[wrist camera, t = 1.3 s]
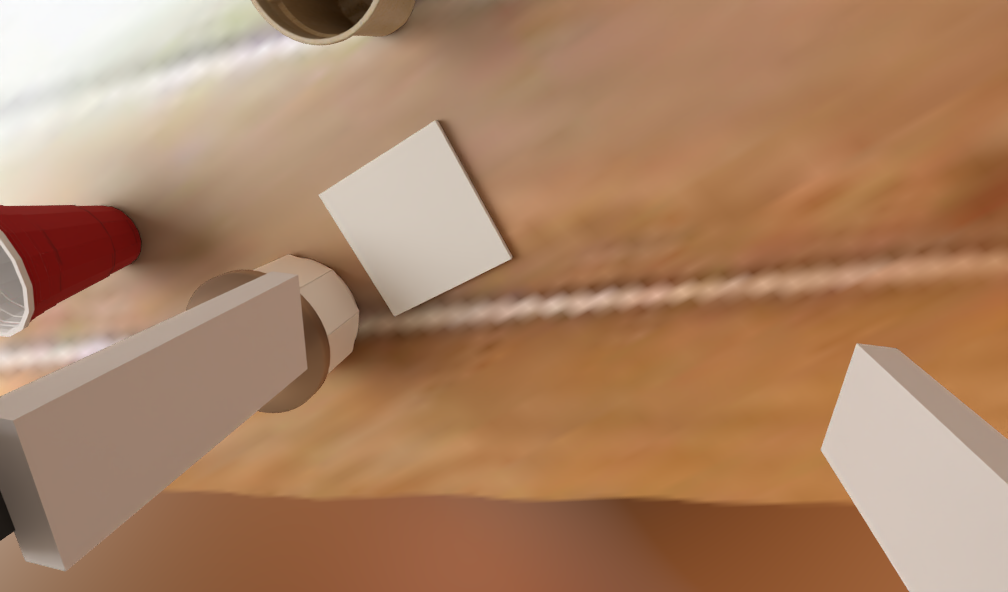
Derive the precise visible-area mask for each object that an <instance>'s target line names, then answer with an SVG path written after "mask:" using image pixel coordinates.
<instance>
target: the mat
mask: <svg viewBox="0 0 1008 592" xmlns="http://www.w3.org/2000/svg"><path fill="white" fill-rule="evenodd" d="M319 197H320V198H321V200H322V201H323V203H324V205H325V206H326V208H327V209H328V211H329V213H330V214H331V216H332V217H333V219H334V221H335V222H336V224H337V225H338V227H339V229H340V230H341V232H342V233H343V235H344V237H345V238H346V240H347V241H348V243H349V245H350V246H351V248H352V249H353V251H354V253H355V254H356V256H357V257H358V259H359V261H360V262H361V264H362V266H363V267H364V269H365V270H366V272H367V274H368V275H369V277H370V278H371V280H372V282H373V283H374V285H375V286H376V288H377V290H378V291H379V293H380V294H381V296H382V298H383V299H384V301H385V302H386V304H387V306H388V307H389V309H390V310H391V312H392V314H393V315H394V317H395V316H397V315H399V314H401V313H403V312H405V311H407V310H409V309H411V308H413V307H415V306H417V305H419V304H421V303H423V302H425V301H427V300H429V299H431V298H433V297H435V296H437V295H439V294H442V293H444V292H446V291H448V290H450V289H452V288H454V287H456V286H458V285H460V284H462V283H464V282H466V281H468V280H470V279H472V278H474V277H476V276H478V275H480V274H482V273H484V272H486V271H488V270H490V269H492V268H494V267H496V266H498V265H500V264H502V263H504V262H506V261H508V260H510V259H512V257H513V256H512V255H511V253H510V251H509V249H508V247H507V246H506V244H505V242H504V240H503V238H502V236H501V235H500V233H499V231H498V229H497V227H496V226H495V224H494V222H493V220H492V218H491V216H490V215H489V213H488V211H487V209H486V207H485V205H484V204H483V202H482V200H481V198H480V196H479V195H478V193H477V191H476V189H475V187H474V185H473V184H472V182H471V180H470V178H469V176H468V174H467V173H466V171H465V169H464V167H463V165H462V164H461V162H460V160H459V158H458V156H457V154H456V153H455V151H454V149H453V147H452V145H451V144H450V142H449V140H448V138H447V136H446V134H445V133H444V131H443V129H442V127H441V125H440V123H439V122H438V120H435V121H433V122H432V123H430V124H429V125H427V126H426V127H424V128H422V129H421V130H419V131H418V132H416V133H415V134H413V135H412V136H410V137H408V138H407V139H405V140H404V141H402V142H401V143H399V144H397V145H396V146H394V147H393V148H391V149H390V150H388V151H387V152H385V153H383V154H382V155H380V156H379V157H377V158H376V159H374V160H372V161H371V162H369V163H368V164H366V165H365V166H363V167H362V168H360V169H358V170H357V171H355V172H354V173H352V174H351V175H349V176H347V177H346V178H344V179H343V180H341V181H340V182H338V183H337V184H335V185H333V186H332V187H330V188H329V189H327V190H326V191H324V192H322V193H321V194H319Z"/></svg>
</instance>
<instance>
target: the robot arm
mask: <svg viewBox="0 0 1008 592" xmlns="http://www.w3.org/2000/svg"><path fill="white" fill-rule="evenodd" d="M306 370H307V358H306V348H305V338H304V328H303V318H302V307H301V297H300V287H299V277H298V275H297V274H288V273H280V272H272V271H271V272H269V273H267V274H265V275H263V276H261V277H258V278H256V279H254V280H252V281H250V282H248V283H245V284H243V285H241V286H239V287H237V288H235V289H232V290H230V291H228V292H226V293H224V294H222V295H219V296H217V297H215V298H213V299H211V300H209V301H206V302H204V303H202V304H200V305H198V306H196V307H193V308H191V309H189V310H187V311H185V312H183V313H180V314H178V315H176V316H174V317H172V318H170V319H167V320H165V321H163V322H161V323H159V324H157V325H154V326H152V327H150V328H148V329H146V330H144V331H141V332H139V333H137V334H135V335H133V336H131V337H128V338H126V339H124V340H122V341H120V342H118V343H115V344H113V345H111V346H109V347H107V348H105V349H102V350H100V351H98V352H96V353H94V354H92V355H89V356H87V357H85V358H83V359H81V360H79V361H76V362H74V363H72V364H70V365H68V366H66V367H63V368H61V369H59V370H57V371H55V372H53V373H50V374H48V375H46V376H44V377H42V378H40V379H37V380H35V381H33V382H31V383H29V384H26V385H24V386H22V387H20V388H18V389H16V390H13V391H11V392H9V393H7V394H5V395H3V396H0V540H2V539H3V538H5V537H6V536H8V535H9V534H11V533H12V532H14V533H15V535H16V538H17V541H18V543H19V546H20V548H21V551H22V553H23V556H24V559H25V561H27V562H31V563H35V564H39V565H43V566H47V567H51V568H55V569H59V570H63V571H67V570H68V569H69V568H70V567H71V566H73V565H74V564H75V563H76V562H77V561H79V560H80V559H81V558H82V557H83V556H85V555H86V554H87V553H88V552H89V551H90V550H92V549H93V548H94V547H95V546H97V545H98V544H99V543H100V542H101V541H103V540H104V539H105V538H106V537H107V536H108V535H110V534H111V533H112V532H113V531H114V530H116V529H117V528H118V527H119V526H120V525H122V524H123V523H124V522H125V521H126V520H127V519H129V518H130V517H131V516H132V515H134V514H135V513H136V512H137V511H138V510H140V509H141V508H142V507H143V506H144V505H146V504H147V503H148V502H149V501H150V500H152V499H153V498H154V497H155V496H156V495H158V494H159V493H160V492H161V491H162V490H163V489H165V488H166V487H167V486H168V485H169V484H171V483H172V482H173V481H174V480H175V479H177V478H178V477H179V476H180V475H181V474H183V473H184V472H185V471H186V470H187V469H189V468H190V467H191V466H192V465H193V464H195V463H196V462H197V461H198V460H199V459H201V458H202V457H203V456H204V455H205V454H207V453H208V452H209V451H210V450H211V449H212V448H214V447H215V446H216V445H217V444H218V443H220V442H221V441H222V440H223V439H224V438H226V437H227V436H228V435H229V434H230V433H232V432H233V431H234V430H235V429H236V428H238V427H239V426H240V425H241V424H242V423H244V422H245V421H246V420H247V419H248V418H250V417H251V416H252V415H253V414H254V413H256V412H257V411H258V410H259V409H260V408H261V407H263V406H264V405H265V404H266V403H267V402H269V401H270V400H271V399H272V398H273V397H275V396H276V395H277V394H278V393H279V392H281V391H282V390H283V389H284V388H285V387H287V386H288V385H289V384H290V383H291V382H293V381H294V380H295V379H296V378H297V377H299V376H300V375H301V374H302V373H303V372H305V371H306ZM821 451H822V453H823V454H824V456H825V457H826V459H827V461H828V462H829V464H830V465H831V467H832V469H833V470H834V472H835V473H836V475H837V477H838V478H839V480H840V481H841V483H842V485H843V486H844V488H845V489H846V491H847V493H848V494H849V496H850V498H851V499H852V501H853V502H854V504H855V506H856V507H857V509H858V510H859V512H860V513H861V515H862V517H863V518H864V520H865V521H866V523H867V525H868V526H869V528H870V530H871V531H872V533H873V534H874V536H875V537H876V539H877V541H878V542H879V544H880V546H881V547H882V549H883V550H884V552H885V553H886V555H887V557H888V558H889V560H890V562H891V563H892V565H893V566H894V568H895V570H896V571H897V573H898V574H899V576H900V578H901V579H902V581H903V582H904V584H905V586H906V587H907V589H908V590H909V592H1008V439H1006V438H1005V437H1004V436H1003V435H1002V434H1000V433H999V432H998V431H997V430H996V429H994V428H993V427H992V426H991V425H989V424H988V423H987V422H986V421H985V420H983V419H982V418H981V417H980V416H978V415H977V414H976V413H975V412H974V411H972V410H971V409H970V408H969V407H967V406H966V405H965V404H964V403H963V402H961V401H960V400H959V399H958V398H957V397H955V396H954V395H953V394H952V393H950V392H949V391H948V390H947V389H946V388H944V387H943V386H942V385H941V384H939V383H938V382H937V381H936V380H935V379H933V378H932V377H931V376H930V375H928V374H927V373H926V372H925V371H924V370H922V369H921V368H920V367H919V366H917V365H916V364H915V363H914V362H913V361H911V360H910V359H909V358H908V357H907V356H905V355H904V354H903V353H902V352H900V351H899V350H898V349H897V348H890V347H882V346H874V345H866V344H856V347H855V350H854V353H853V356H852V359H851V362H850V365H849V368H848V371H847V374H846V376H845V379H844V382H843V385H842V388H841V391H840V394H839V397H838V400H837V403H836V406H835V409H834V412H833V415H832V418H831V421H830V424H829V427H828V430H827V433H826V436H825V439H824V442H823V445H822V448H821Z"/></svg>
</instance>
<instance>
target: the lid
mask: <svg viewBox="0 0 1008 592" xmlns="http://www.w3.org/2000/svg"><path fill="white" fill-rule="evenodd" d="M265 274H267V273H263V272H260V271H254V270H236V271H231V272H227V273H224V274H222V275H219V276H217V277H215V278H212V279H210V280H208V281H206V282H205V283H204V284H202V285H201V286H200V287H199V288H198V289H197V290H196V291H195V292H194V294H193V295H192V297H191V298H190V300H189V303H188V305H187V309H186V311H187V310H189V309H191V308H193V307H196V306H198V305H200V304H202V303H204V302H206V301H209V300H211V299H213V298H215V297H217V296H219V295H222V294H224V293H226V292H228V291H230V290H232V289H235V288H237V287H239V286H241V285H243V284H245V283H248V282H250V281H252V280H254V279H256V278H258V277H261V276H263V275H265ZM300 297H301V307H302V318H303V328H304V338H305V348H306V358H307V370H306V371H305V372H303V373H302V374H301V375H300V376H299V377H297V378H296V379H295V380H294V381H293V382H291V383H290V384H289V385H288V386H287V387H285V388H284V389H283V390H282V391H281V392H279V393H278V394H277V395H276V396H275V397H273V398H272V399H271V400H270V401H269V402H267V403H266V404H265V405H264V406H263V407H261V408H260V409H259V410H258V411H260V412H266V413H281V412H286V411H290V410H293V409H295V408H297V407H299V406H301V405H302V404H304V403H305V402H306V401H307V400H308V399H310V398H311V397H312V396H313V395H314V394H315V393H316V392H317V391H318V390H319V388H320V387H321V386H322V384H323V383H324V381H325V379H326V376H327V374H328V370H329V366H330V346H329V341H328V337H327V334H326V331H325V328H324V326H323V324H322V321H321V320H320V318H319V316H318V314H317V313H316V311H315V310H314V309H313V307H312V306H311V304H310V303H309V302H308V301H307V300H306V299H305V298H304V297H303V296H302V295H301V294H300Z"/></svg>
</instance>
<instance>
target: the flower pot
mask: <svg viewBox="0 0 1008 592" xmlns="http://www.w3.org/2000/svg"><path fill="white" fill-rule="evenodd" d="M251 1H252V3H253V5H254V6H255V8H256V9H257V10H258V12H259V13H260V14H261V15H262V17H263V18H264V19H265V20H266V21H267V22H268V23H269V24H270V25H271V26H272V27H274V28H275V29H276V30H278V31H279V32H280V33H282V34H283V35H285V36H287V37H289V38H291V39H293V40H296V41H299V42H302V43H305V44H311V45H330V44H334V43H338V42H341V41H344V40H346V39H348V38H350V37H352V36H376V37H377V36H386V35H388V34H391V33H392V32H394V31H396V30H397V29H398V28H400V27H401V26H402V25H404V24H405V22H406V21H407V20H408V18H409V16H410V14H411V12H412V10H413V7H414V4H415V0H251Z"/></svg>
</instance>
